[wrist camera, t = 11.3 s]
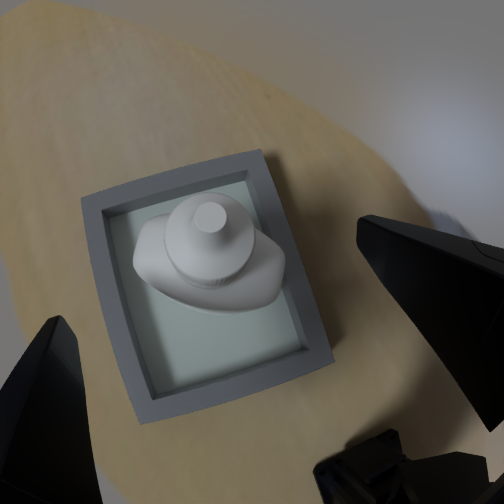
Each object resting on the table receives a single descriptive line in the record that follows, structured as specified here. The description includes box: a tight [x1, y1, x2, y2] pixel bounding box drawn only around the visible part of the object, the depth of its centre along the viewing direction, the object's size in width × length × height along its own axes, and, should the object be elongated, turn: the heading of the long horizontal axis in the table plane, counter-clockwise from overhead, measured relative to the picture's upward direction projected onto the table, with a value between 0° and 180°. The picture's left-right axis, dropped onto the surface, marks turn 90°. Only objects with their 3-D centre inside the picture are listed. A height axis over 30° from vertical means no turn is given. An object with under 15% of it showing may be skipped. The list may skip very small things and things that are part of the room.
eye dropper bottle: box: [133, 192, 285, 315], centre depth 13 cm, size 4×6×12 cm
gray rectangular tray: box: [81, 149, 335, 425], centre depth 18 cm, size 13×11×2 cm
